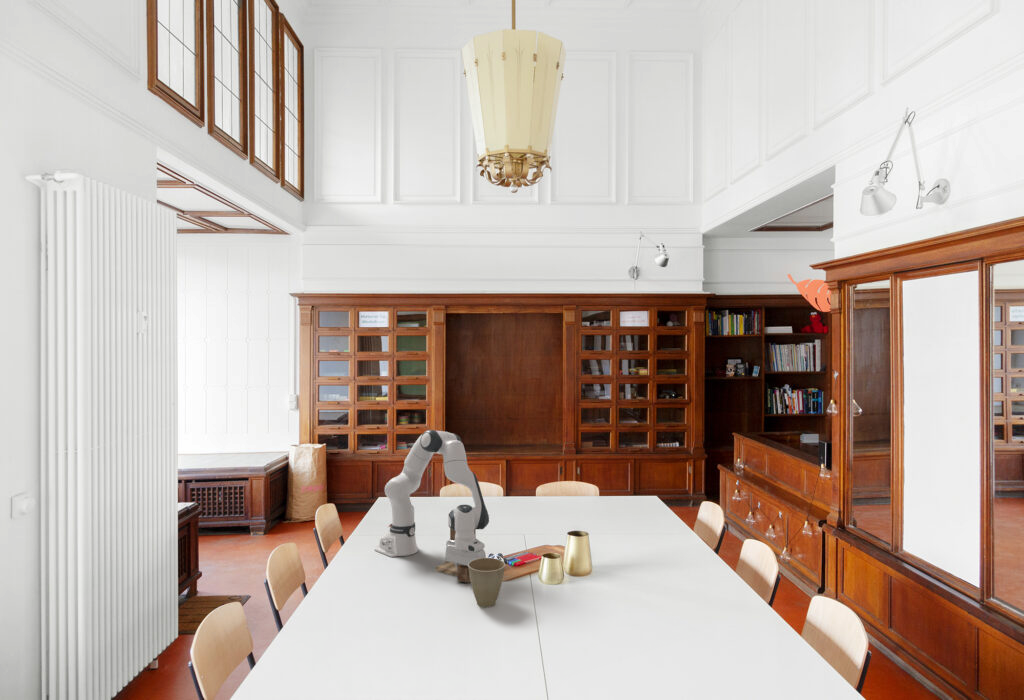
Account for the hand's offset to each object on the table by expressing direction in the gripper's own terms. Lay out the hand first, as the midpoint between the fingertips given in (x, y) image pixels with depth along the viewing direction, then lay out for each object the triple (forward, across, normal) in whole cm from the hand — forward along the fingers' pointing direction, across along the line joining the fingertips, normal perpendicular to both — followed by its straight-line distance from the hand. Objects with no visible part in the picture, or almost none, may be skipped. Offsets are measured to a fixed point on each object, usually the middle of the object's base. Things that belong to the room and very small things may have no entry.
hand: (465, 574), depth 266 cm
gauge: (+3, 0, +4) cm, 5 cm away
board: (+3, -7, +8) cm, 11 cm away
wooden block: (+3, -16, +20) cm, 25 cm away
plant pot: (+3, +21, -14) cm, 25 cm away
